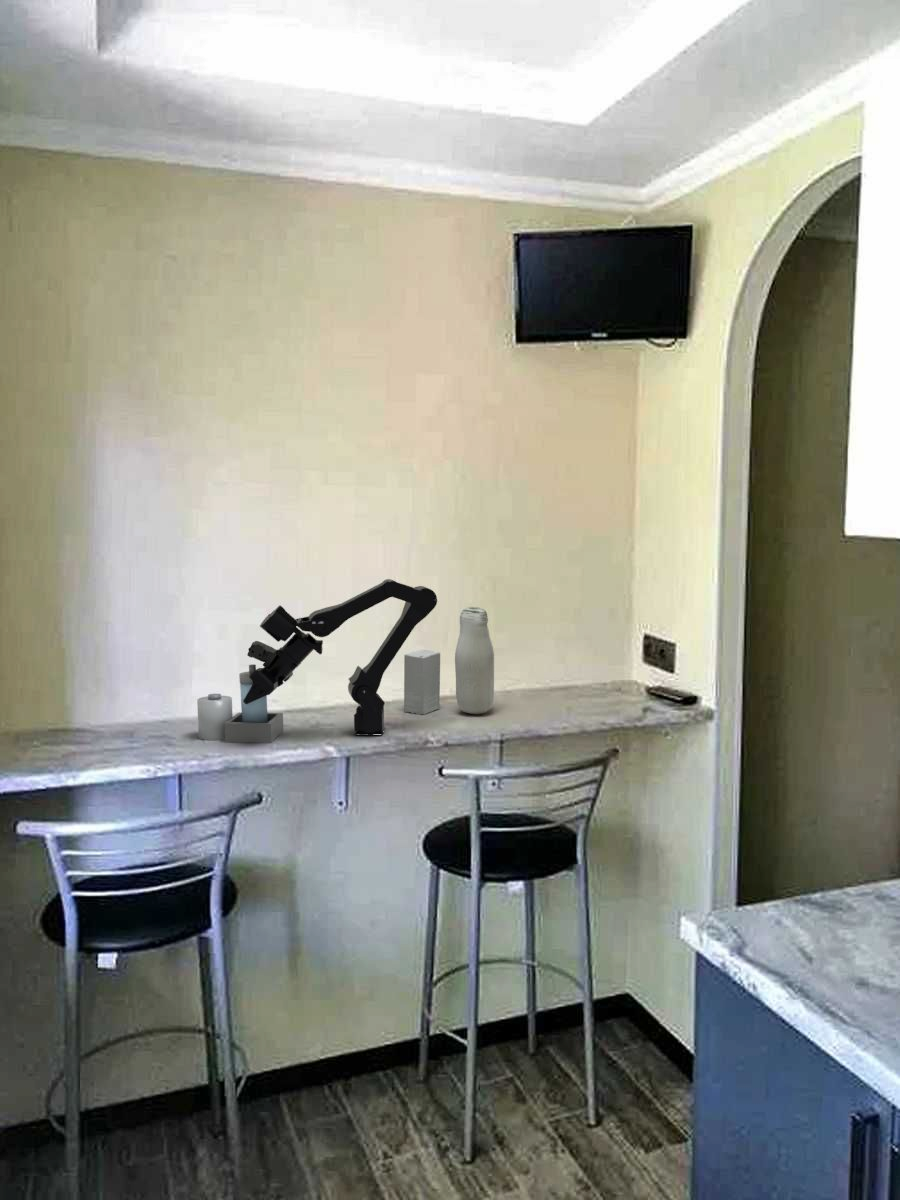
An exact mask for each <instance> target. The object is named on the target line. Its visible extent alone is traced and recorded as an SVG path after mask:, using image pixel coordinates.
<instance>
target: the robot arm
mask: <svg viewBox="0 0 900 1200" xmlns="http://www.w3.org/2000/svg"><path fill="white" fill-rule="evenodd" d="M390 598H394V599H397V600H400V601H402V602H403V601H404V602H405V603H404V606H403V608H402V611H401V615H400V617H399V618H398V620H397V621H396V622H395V624H394V626H393V627H392V629H391V630H390V632H389V633H388V634H387V636H386V637H385V639H384V641H383V642H382V643H381V645H380V647H379V648H378V649H377V651H376V653H375V654H374V656H372V658H371V659H370V661H369V663H367V665H365V666H364V667H363V668H362V667H360V666H359V665H357V666H356V668H355V671H354V673H353V674H352V675H351V676H350V677H349V678H348V682H349V683H348V685H347V691H348V694H349V695H350V697H351V699H352V700H353V701H354V702H355V703H356V704H358V706H357V707H356V708H355V713H354V714H353V724H354V726H353V728H354V729H353V731H354V732H355V733H354V735H355V734H368V735H367V736H374V735H373V734H382V733H383V731H384V730H385V731H386V727H385V707H384V706H385V701H384V699H382V697H381V696H380V695H379V693H378V690H379V688H380V686H381V682H382V679H383V676H384V674H385V672H386V670H387V669H388V668H389V666H390V664H391V662H392V661H393V659H395V657H396V656H397V653H398V652H399V651H400V649H401V647H402V646H403V645H404V644H405V642H406V640H407V639H408V637H409V636H410V635H411V633H412V632H413V630H414V628H416V626H417V625H418V624H419V623H420V622H422V621H423V620H424V619H425V618H426V617H427V616H428V615H429V614H430V613H431V612H433V610H434V609H435V608H436V607H437V604H438V597H437V594H436V592H435V591H434V590H433V589H431V588H429V587H426V586H423V585H418V586H414V587H413V586H409V585H407V584H405V583H401V582H398V581H396V580H393V579H391V578H387V579H384V580H383V581H382V582H380V583H379V584H377V585H374V586H373V587H370V588H369V589H366V590H365V591H363V592H361V593H359V594H357V595H355V596H353V597H351V598H350V599H347V600H346V601H343V602H341V603H339V604H335V605H330V606H327V607H323V608H320V609H317V610H314V611H313V612H311V613H310V614H309V615H308V616H304V617H298V618H294V616H292V615H291V614H290V613H289V612H287V610H286V609H285V608H284V607H283V606H282V605H281V604H280V605H278V606H277V607H276V608H275V609H274V610H273V611H272V612H271V613H269V614H268V615H266V617H264V619H263V620H262V621H261V623H260V625H259V627H260V628H261V629H262V630H264V631H265V632H266V633H267V634H268V635H269V636H271V637H272V638H273V639H274V640H275V641H276V642H280V641H283V642H285V644H283V646H282V647H280V648H278V649H276V648H274V647H272V646H270V645H269V644H266V643H263V642H262V641H259V640H255V641H253V642H251V645H250V647H249V648H248V652H247V654H246V655H247V656H248V657H249V658H253V659H255V660H258V661H260V662H262V663H263V664H262V666H263V667H258V668H256V670H255V671H254V672H253V673H252V674H251V675H250V676H249V677H250V679H251V680H252V682H253V685H252V687H251V688H250V690H249V692H248V693H247V695H246V697H245V699H244V700H243V702H244V703H245V704H248V703H251V702H253V701H255V700H257V699H260V698H262V697H264V696H270V695H271V694H272V693H273V692H274V691H275V690H276V689H277V688H279V687H280V686H282V685H283V684H284V682H285V683H286V682H288V681H289V680H290V679H291V677H292V676H294V671H295V669H298V667H300V665H301V664H302V663H303V662H304V660H306V658H307V657H308V656H309V655H310V654H311V653H312V652H313V651H315V652H316V654H319V655H322V654H323V650H324V649H323V643H324V641H323V639H320V640H319V639H317V638H315V637H318V638H325V637H328V636H329V635H330V634H332V633H333V632H334V631H336V630H338V629H339V627H341V626H342V625H343V624H344V623H345V622H346V621H348V620H349V619H351V618H353V617H355V616H357V615H359V614H360V613H363V612H364V611H367V610H369V609H370V608H372V607H375V606H376V605H378V604H381V603H382V602H384V601H386V600H388V599H390ZM305 632H308V633H305ZM310 633H311V634H310ZM291 636H292V637H291ZM314 636H315V637H314ZM288 639H289V640H288ZM385 731H384V732H385ZM383 734H384V733H383ZM383 734H382V735H383Z"/></svg>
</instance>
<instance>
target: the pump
mask: <svg viewBox="0 0 900 1200" xmlns="http://www.w3.org/2000/svg"><path fill="white" fill-rule="evenodd" d="M256 669H257V666H256V664H248V671H243V672H240V673H239V674H238V675H239V678H238V679H239V686H240V687H239V688H240V704H241V705H240V708H241V709H240V710H241V713H242V722H247V723H268V714H267V713H268V697H267V696H268V695H267V696H264V697H262V698H260V699H257V700H255V701H253V702H251V703H248V704H245V703H244V702H243V700H244V699H245V697H246V695H247V693H248V692H249V690H250V688H251V687H252V685H253V682H252V680H251V679H250V677H249V676H250V675H251V674H252V673H253V672H254V671H255V670H256Z"/></svg>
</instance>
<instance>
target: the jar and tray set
mask: <svg viewBox="0 0 900 1200" xmlns="http://www.w3.org/2000/svg"><path fill="white" fill-rule="evenodd" d="M267 714H268V723H247V722H242V712H238V713H236V714H234V715H233V697H232V696H228V695H222V694H221V693H210V694H208V695H207V696H202V697H199V698H198V699H197V725H198V726H197V729H198V733H197V734H198V739H200V740H202V739H204V740H203V741H220V739H222V740H224V742H225V743H248V742H272V741H273V740H274V739H275V738H276V737H277V736H278V735H279V734H280V735H281V734H282V733H283V732H284V713H282V712H267ZM280 735H279V736H280ZM279 736H278V737H279ZM278 737H277V738H278ZM277 738H276V739H277ZM276 739H275V740H276ZM275 740H274V741H275ZM274 741H273V742H274ZM273 742H272V743H273Z"/></svg>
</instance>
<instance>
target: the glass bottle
mask: <svg viewBox="0 0 900 1200" xmlns="http://www.w3.org/2000/svg"><path fill="white" fill-rule="evenodd" d="M459 615H460V616H459V627H460V628H459V634H458V639H457V643H456V647H455V653H454V667H455V669H454V670H455V695H456V698H455V699H456V702H457V706H458V708H459V709H460V710H461V711H462V712H464V713H467V714H469V715H481V714H485V713H487V712H488V711H490V709H491V707H493V704H494V696H495V652H494V651H495V649H494V646H493V643H492V640H491V637H490V632H489V626H488V622H489V618H488V612H487V610H485V609H484V608H480V607H475V606H473V607H472V606H470V607H469V606H467V607H465V608H463V610H461V613H460V614H459Z"/></svg>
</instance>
